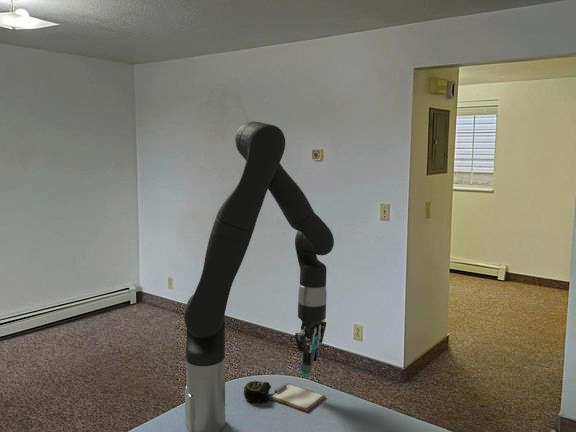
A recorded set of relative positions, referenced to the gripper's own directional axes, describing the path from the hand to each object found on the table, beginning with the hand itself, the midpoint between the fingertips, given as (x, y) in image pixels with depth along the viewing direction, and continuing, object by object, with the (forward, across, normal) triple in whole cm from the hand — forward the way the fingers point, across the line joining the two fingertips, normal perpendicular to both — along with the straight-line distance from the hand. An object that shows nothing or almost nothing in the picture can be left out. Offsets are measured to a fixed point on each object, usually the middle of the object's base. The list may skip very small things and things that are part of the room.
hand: (310, 362), depth 134 cm
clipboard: (+10, -2, +2) cm, 11 cm away
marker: (+4, 0, +2) cm, 4 cm away
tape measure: (+11, -8, +11) cm, 17 cm away
